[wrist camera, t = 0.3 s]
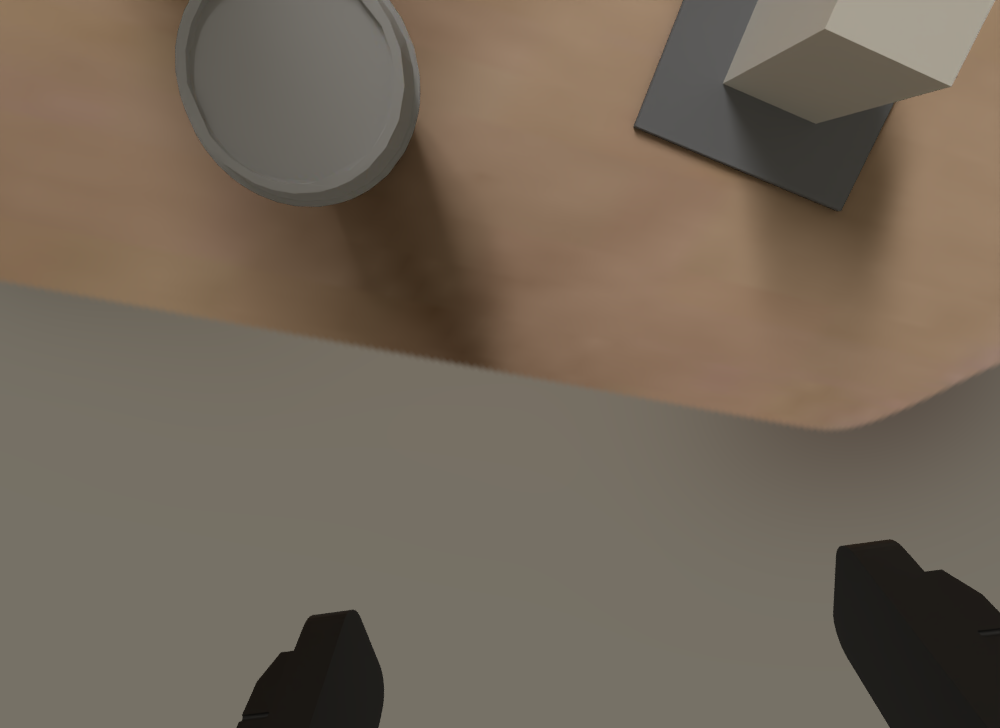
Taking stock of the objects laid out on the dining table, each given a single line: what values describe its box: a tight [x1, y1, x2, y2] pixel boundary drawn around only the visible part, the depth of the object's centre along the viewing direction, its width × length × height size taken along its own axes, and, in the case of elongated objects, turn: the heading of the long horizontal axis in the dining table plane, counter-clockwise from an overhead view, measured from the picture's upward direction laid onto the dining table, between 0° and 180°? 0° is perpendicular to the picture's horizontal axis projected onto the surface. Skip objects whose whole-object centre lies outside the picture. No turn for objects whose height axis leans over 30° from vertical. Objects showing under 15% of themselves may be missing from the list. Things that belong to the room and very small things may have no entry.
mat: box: [634, 0, 894, 211], centre depth 33 cm, size 14×14×1 cm
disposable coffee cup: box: [175, 0, 420, 207], centre depth 28 cm, size 10×10×12 cm
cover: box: [723, 0, 995, 124], centre depth 28 cm, size 6×6×10 cm
